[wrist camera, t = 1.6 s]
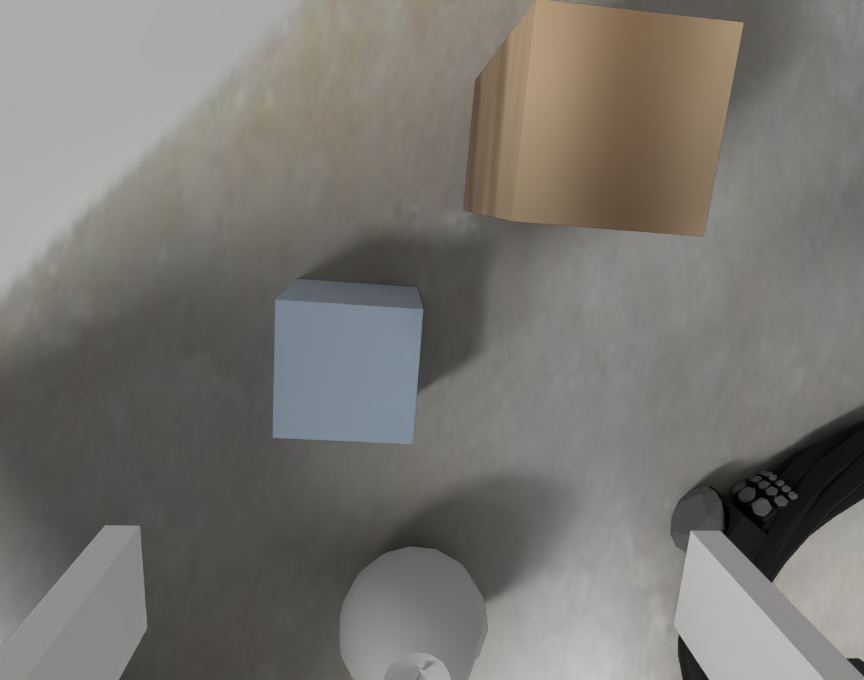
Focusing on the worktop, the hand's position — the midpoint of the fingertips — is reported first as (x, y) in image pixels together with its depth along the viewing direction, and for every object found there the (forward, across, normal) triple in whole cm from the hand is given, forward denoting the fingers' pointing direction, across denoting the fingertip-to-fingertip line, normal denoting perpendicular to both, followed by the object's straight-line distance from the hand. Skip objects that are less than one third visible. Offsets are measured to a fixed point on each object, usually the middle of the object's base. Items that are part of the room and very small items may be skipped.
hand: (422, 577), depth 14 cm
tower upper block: (+11, +6, +11) cm, 17 cm away
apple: (+18, +1, -13) cm, 22 cm away
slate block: (+18, -3, +1) cm, 18 cm away
